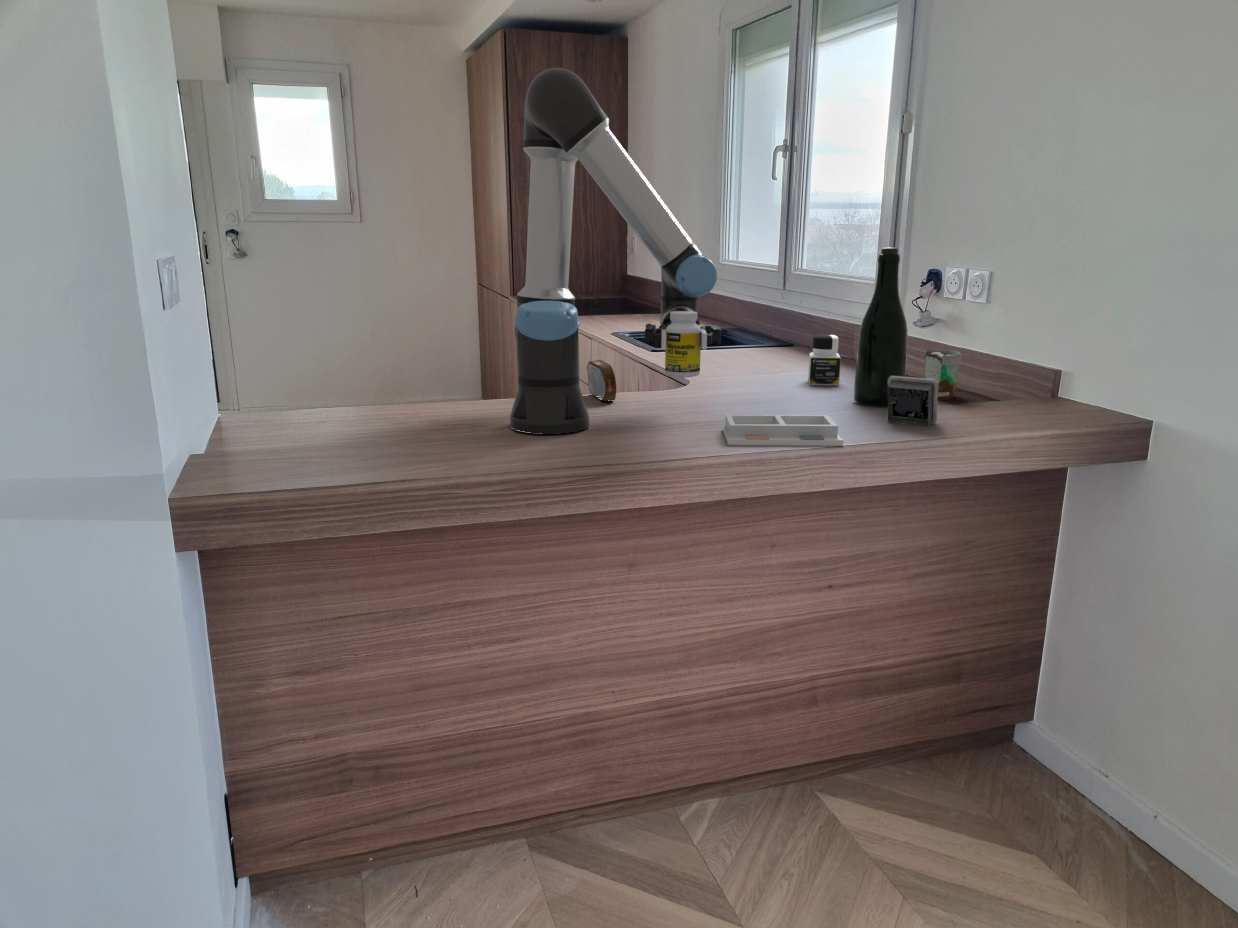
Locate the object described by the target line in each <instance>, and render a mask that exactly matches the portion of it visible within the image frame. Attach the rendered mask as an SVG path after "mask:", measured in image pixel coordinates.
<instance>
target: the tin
mask: <svg viewBox="0 0 1238 928" xmlns="http://www.w3.org/2000/svg"><path fill="white" fill-rule="evenodd" d="M586 365H587V366H586V372H587V373H586V374H587V386H588V390H589V393H590V394H591V395H592V397H594V396H601V397H596V399H597V398H602V400H603V401H608V400H614V401H616V398H617V380H616V375H615V372H614V369H613V367H612V365H611V364H610V363H608V362H605V361H604V360H602V359H595V360H591V361H588V363H587V364H586Z"/></svg>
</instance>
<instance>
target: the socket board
mask: <svg viewBox="0 0 1238 928" xmlns="http://www.w3.org/2000/svg"><path fill="white" fill-rule="evenodd" d="M722 433H723V435H724V438H725V441H726V443H727V446H789V447H791V446H793V447H795V446H796V447H797V446H799V447H800V446H803V447H805V446H806V447H808V446H811V447H812V446H813V447H814V446H815V447H817V446H818V447H819V446H820V447H823V446H824V447H827V446H828V447H833V446H834V447H843V446H844V439H843V438H842V437H841V436H840V435H839V434H838V433H839V425H838V424H837V423H836V422H835V421H834V420H833V419H832V418H831V417H830V415H828V414H725V424H722Z"/></svg>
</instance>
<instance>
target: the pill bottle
mask: <svg viewBox="0 0 1238 928" xmlns="http://www.w3.org/2000/svg"><path fill="white" fill-rule="evenodd" d="M697 318H698V314H697V312H693V311H673V312H670V320H671V321H672V323H671V324H670V325H668V326H667V328H666V350H665V352H664V353H665V355H664V356H665V357H664V358H665V359H664V367H665V368H664V373H665V375H667V376H668V377H674V378H693V377H698V376H699V375H700V372H701V350H702V348H701V328H700V327H699V326H698V325H697V324H696V321H697Z"/></svg>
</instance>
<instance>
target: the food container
mask: <svg viewBox="0 0 1238 928" xmlns="http://www.w3.org/2000/svg"><path fill="white" fill-rule="evenodd" d="M923 358H924V370H923V378H927V379H936V381H937V382H938V398H937V401H941V400H942V401H943V400H950V399H953V398H954V395H955V388H956V381H957V377H958V373H959V372H958V371H959V366H960V365H961V364H963V357H962V355H961V352H960V351H956V350H955V351H954V350H951V349H950V350H948V349H936V348H925V352H924V357H923Z"/></svg>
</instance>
